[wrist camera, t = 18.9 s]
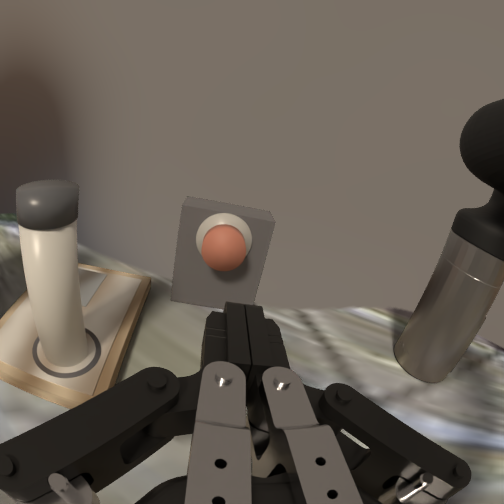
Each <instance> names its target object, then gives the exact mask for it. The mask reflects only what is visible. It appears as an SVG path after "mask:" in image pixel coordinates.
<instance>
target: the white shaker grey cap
mask: <svg viewBox="0 0 504 504" xmlns="http://www.w3.org/2000/svg"><path fill="white" fill-rule="evenodd" d="M78 200H79V185H78V184H76V183H74V182H71V181H65V180H42V181H35V182H30V183H27V184H24V185H22V186H20V187H18V188H17V190H16V204H17V205H16V206H17V222H18V224H19V233H20V243H21V252H22V259H23V266H24V273H25V279H26V284H27V290H28V295H29V299H30V304H31V308H32V313H33V317H34V321H35V325H36V328H37V332H38V336H39V339H40V342H41V346H42V349H43V352H44V355H45V357H46V359H47V360H48V361H49V362H50V363H51V364H53V365H55V366H59V367H72V366H75V365H77V364H79V363H81V362H82V361H83V360H84V359H85V358H86V356H87V353H88V344H87V338H86V332H85V326H84V319H83V312H82V304H81V295H80V285H79V272H78V256H77V218H78Z"/></svg>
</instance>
